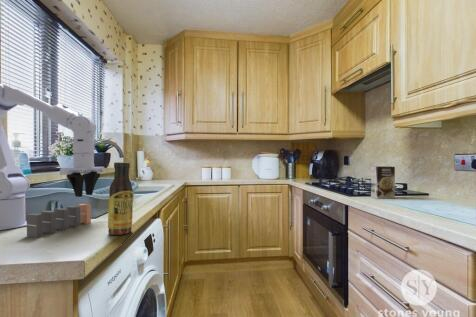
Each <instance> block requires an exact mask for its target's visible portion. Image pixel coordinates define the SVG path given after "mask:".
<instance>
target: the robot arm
mask: <svg viewBox="0 0 476 317" xmlns="http://www.w3.org/2000/svg"><path fill="white" fill-rule="evenodd" d="M18 105H19V106H24V105H26V106H28V107H30V108H32V109H35V110H37V111H40V112H41V113H44V114H46V115H47V117H48V119H49V121H51V122H54V123H55V124H58V125H59V126H61V127H64V128H66V129H68V130H70V131H72V134H73V140H72V142H73V144H72V146H73V167H63V168H62V167H61V168H59V174H60V175H61V176H62V175H63V176H66V178H67V180H68V181H69V182H70V183H69V184H71V187H72V189H73V192H74V195H75V197H77V198H78V197H79V198H82V197H83V193H84V192H83V190H84V188H83V187H85V195H86V196H92V195H93V194H94V193H93V192H94V190H95V186H96V184H97V181H98V180H99V178H100V177H101V173H105V166H95V151H94V150H95V145H94V144H95V139H94V135H95V134H94V133H95V132H96V130H97V125H96V123H95V121H93V120H92V119H91V118H90V117H85V116H83V113H80V112H78V113H77V112H76V111H74V110H72V109H69V106H67V105H65V104H62V105H61V104H54V105H51V104H50V103H47V102H46V101H44V100H41V99H40V98H38V97H36V96H34V95H32V94H30V93H28V92H26V91H24V90H21V89H19V88H15V87H12V86H9V85H6V84H3V83H2V84H1V83H0V231H3V230H10V229H15V228H21V227H27V221H26V193H27V192H28V191H29V190H30V187H31V183H30V179H29V178H27V177H26V176H25V173H24V171H23V169H21V168H20V167H19V166H17V165H16V162H15V159H14V157H13V153H12V150H11V147H10V145H9V141H8V138H7V135H6V132H5V129H4V126H3V124H2V123H3V122H2V119H1V118H2V116H3V115H5V114H6V113H7V112H9V111H11V110H12V109H14V108H16V107H17V106H18Z"/></svg>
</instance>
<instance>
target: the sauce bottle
mask: <svg viewBox="0 0 476 317" xmlns="http://www.w3.org/2000/svg"><path fill="white" fill-rule="evenodd" d="M130 166H131V165H130V162H123V161H122V162H121V161H119V162H118V161H117V162H116V161H115V162H114V163H113V167H114V175H113V177H114V178H113V180H112V182H111V183H110V186H109V193H108V194H109V195H108V212H107V228H108V230H107V232H108V235H110V236H122V235H123V236H124V235H126V234H130V233H132V227H133V208H134V207H133V204H134V202H133V201H134V199H133V198H134V192H133V184H132V182H131V179H130V175H129V173H130V168H131V167H130Z"/></svg>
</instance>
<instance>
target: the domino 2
mask: <svg viewBox="0 0 476 317" xmlns="http://www.w3.org/2000/svg"><path fill="white" fill-rule="evenodd" d="M40 214H42V232H43V234H49V235H52V234H56V233H57V229H56V211H55V210H54V211H53V210H43V211H40Z"/></svg>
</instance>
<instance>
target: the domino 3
mask: <svg viewBox="0 0 476 317" xmlns="http://www.w3.org/2000/svg"><path fill="white" fill-rule="evenodd" d="M54 211H56V230H57V229H58V230H59V231H67V230H66V229H68V230H69V229H70V226H69V209H67V208H62V207H59V208H54Z"/></svg>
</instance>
